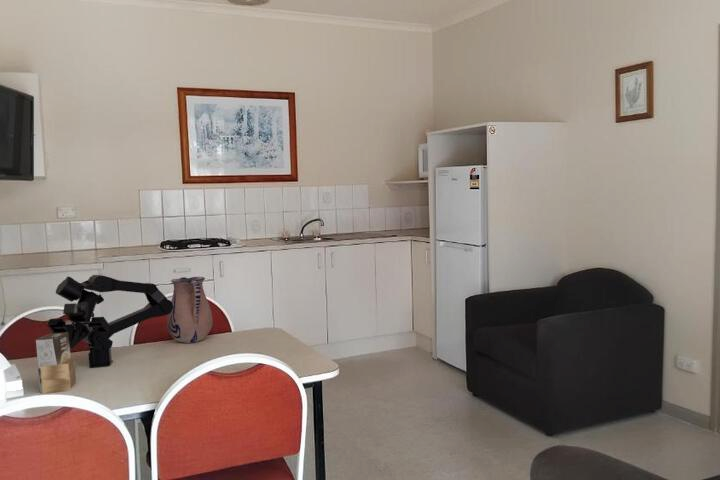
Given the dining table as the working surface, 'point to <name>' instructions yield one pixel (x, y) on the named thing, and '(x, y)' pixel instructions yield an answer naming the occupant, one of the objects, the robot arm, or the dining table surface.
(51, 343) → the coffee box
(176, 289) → the ceramic pitcher
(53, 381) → the tan wooden block
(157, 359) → the dining table surface
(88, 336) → the robot arm
